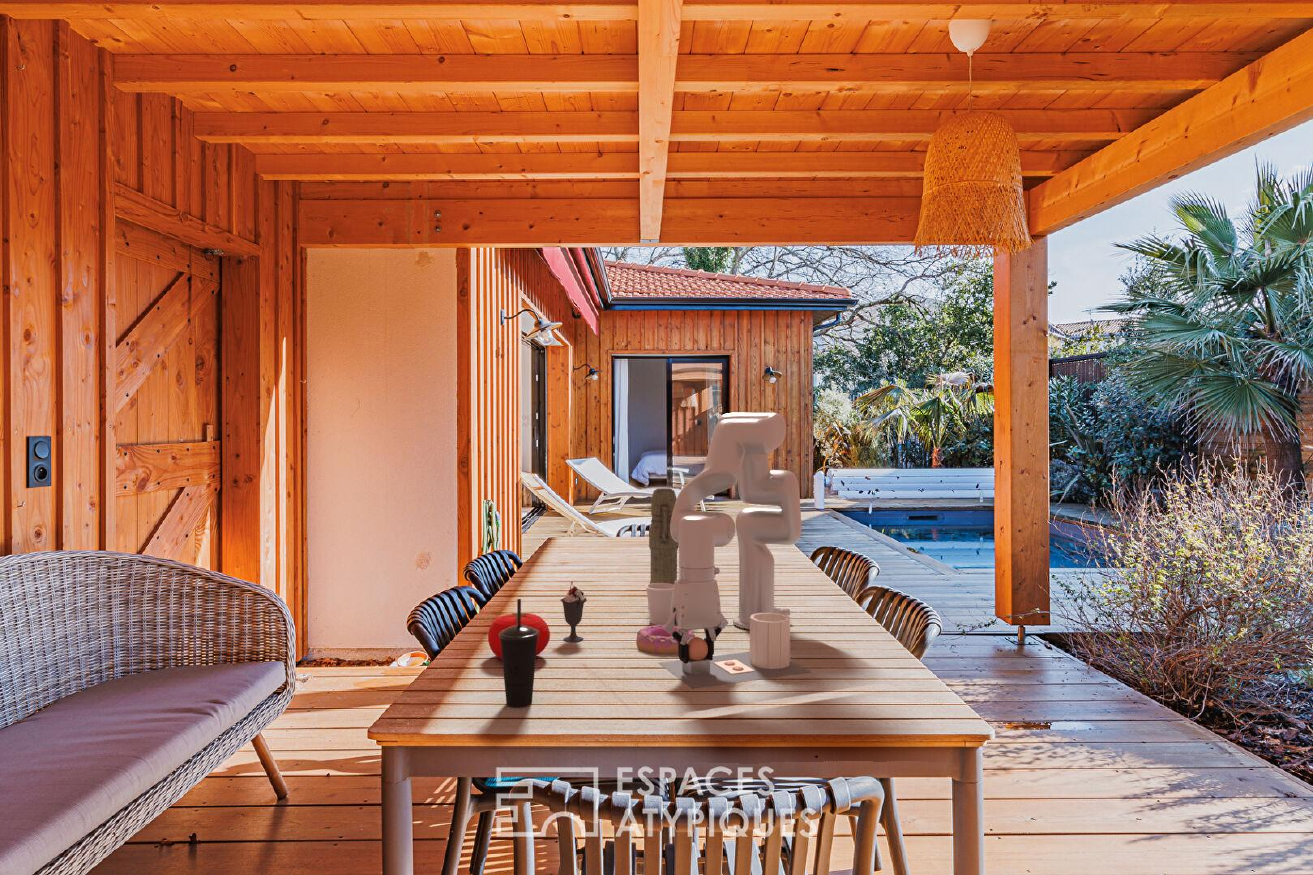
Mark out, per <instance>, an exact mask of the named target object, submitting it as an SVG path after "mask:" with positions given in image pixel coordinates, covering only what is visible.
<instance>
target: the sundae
mask: <svg viewBox="0 0 1313 875" xmlns="http://www.w3.org/2000/svg"><path fill="white" fill-rule="evenodd" d="M569 588H570V589H569V590H568V591H567V592H566V594H565V596H564V597H563V598H561V599H559V601H560V602H561V603H562V607H563V614H564V620H565V622H566V624H567V625H569V626H570V632H569V635H568V636H565V637H564V638H563V639H562V640H563V641H564V642H566V643H578V642H581V641H582V642H583V640H584V638H583V637H582V636H578V635H577V632H576V630H577V629H576V627H577V626H578V625H579V624H580V622H582V618H583V611H584V610H583V609H584V605H585V603H586V602H587V597H584V595H585V594H584V593H585V592H583V590H582V591H581V589H579V588H578V587H577V586H575V585H574V583H573V581H571V582H570V587H569Z"/></svg>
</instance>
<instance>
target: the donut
mask: <svg viewBox="0 0 1313 875" xmlns="http://www.w3.org/2000/svg"><path fill="white" fill-rule="evenodd" d="M664 626H665V625H655V624H651V625H650V626H646V627H643V628H640V629H639V630H638V631H637V633H636V640H635V641H636V643H635V644H636V648H637V649H638V651H640V650H641V651H644V652H647V653H652V654H664V655H670V654H671V655H672V654H675V655H676V654H678V642H677V641H676V639H675V638H674V637H673V636H671V635H670V634H669V633H668V632H666V631H665V630H664V629H663V627H664ZM673 629H674V630H675V631H676V632H678V626H673ZM695 632H696V631H694V630H689V634H688V638H687V641H688V640H689V639H690V638H692V637H696V633H695Z"/></svg>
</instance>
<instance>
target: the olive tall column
mask: <svg viewBox="0 0 1313 875" xmlns="http://www.w3.org/2000/svg"><path fill="white" fill-rule="evenodd" d="M676 499H677V494H676V493H675V490H674V489H673V488H664V487H661V488H656V489H655V490H653V492H652V496H651V499H650V500H651V501H650V503H651V504H650V506H651V508H650V509H651V510H650V514H651V520H650V527H649V529H648V547H649V550H650V581H649V584H652V583H669V584H674V583H675V581H676V580H678V551H679V543H677V542H676V541H674V540H673V538H672V536H671V533H670V523H671V517H672V513H673V510H674V506H675V502H676Z"/></svg>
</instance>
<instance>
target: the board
mask: <svg viewBox="0 0 1313 875" xmlns="http://www.w3.org/2000/svg"><path fill="white" fill-rule="evenodd" d="M658 665H660V666H661V667H663V668H664V669H666V670H667V671H668V673H669V672H670V673H671V674H672V675H673V676H674V677H676V678H678V679H679V680H680V681H682V682H683V683H684V684H686V686H688V687H690V688H691V689H692V690H693V689H701V688H707V687H714V686H723V685H728V684H729V685H730V684H736V683H737V684H738V683H742V682H743V683H744V682H750V681H759V680H765V679H773V678H779V677H781V678H782V677H787V676H795V675H802V674H808V673H809V674H810V673H812V671H811V670H810V669H807V668H805V667H803V666H801V665H799V664H798V663H796V662H794V661H792V660H790V665H789V666H788V667H784V668H780V669H766V668H760V667H756V666H754V665H752V664H750V651H744V652H736V653H727V654H720V655H718V654H717V655H713V660H711V661H710V674H707V675H699V676H690V675H688V674H687V673H685V672H684V671H683V670H682V661H681V660H680V659H678V660H670V661H662V662H658Z"/></svg>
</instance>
